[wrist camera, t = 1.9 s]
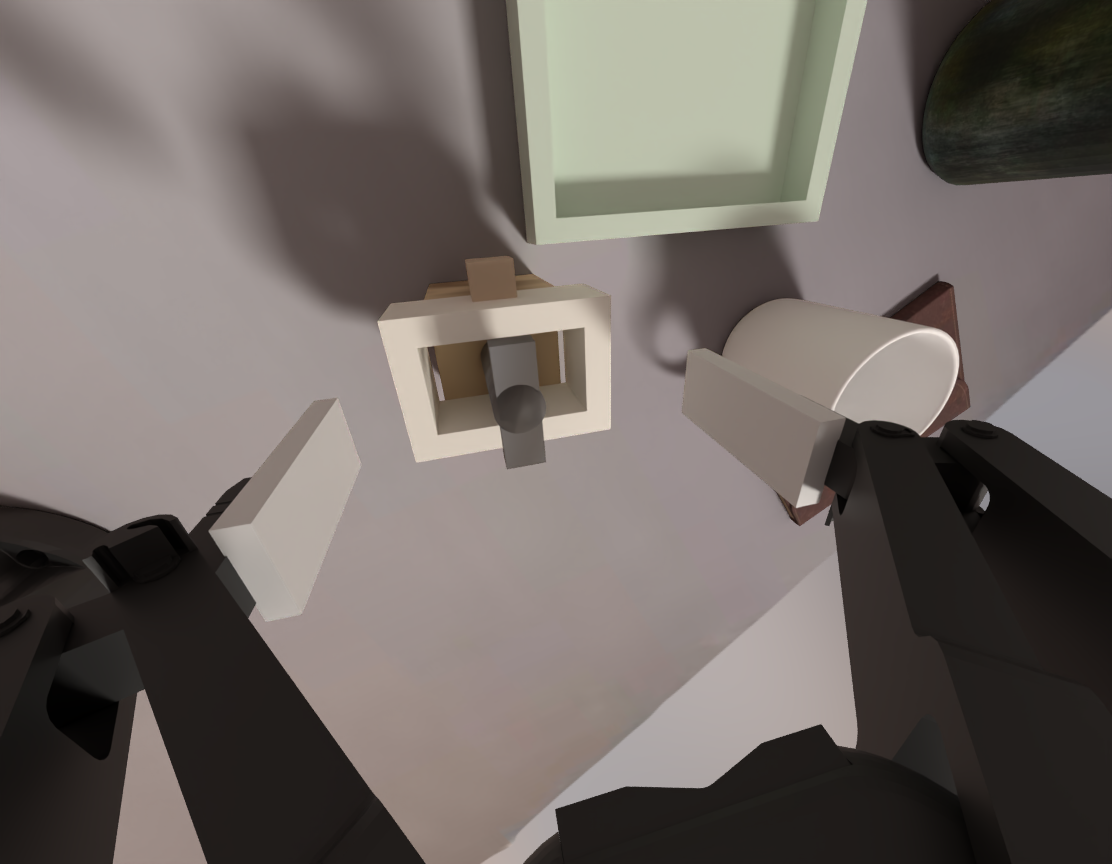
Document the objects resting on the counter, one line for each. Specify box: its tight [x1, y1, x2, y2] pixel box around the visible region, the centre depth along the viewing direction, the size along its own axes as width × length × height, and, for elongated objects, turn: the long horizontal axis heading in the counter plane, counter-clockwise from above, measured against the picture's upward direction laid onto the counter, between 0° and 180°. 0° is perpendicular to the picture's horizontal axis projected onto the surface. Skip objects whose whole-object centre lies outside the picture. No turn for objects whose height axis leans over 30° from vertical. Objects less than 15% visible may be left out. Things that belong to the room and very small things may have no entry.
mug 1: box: [722, 298, 959, 435], centre depth 27 cm, size 9×12×11 cm
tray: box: [506, 0, 867, 245], centre depth 20 cm, size 18×18×3 cm
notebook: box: [778, 281, 970, 526], centre depth 37 cm, size 15×20×2 cm
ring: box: [377, 256, 611, 463], centre depth 19 cm, size 9×8×4 cm
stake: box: [424, 274, 561, 469], centre depth 20 cm, size 6×6×13 cm
